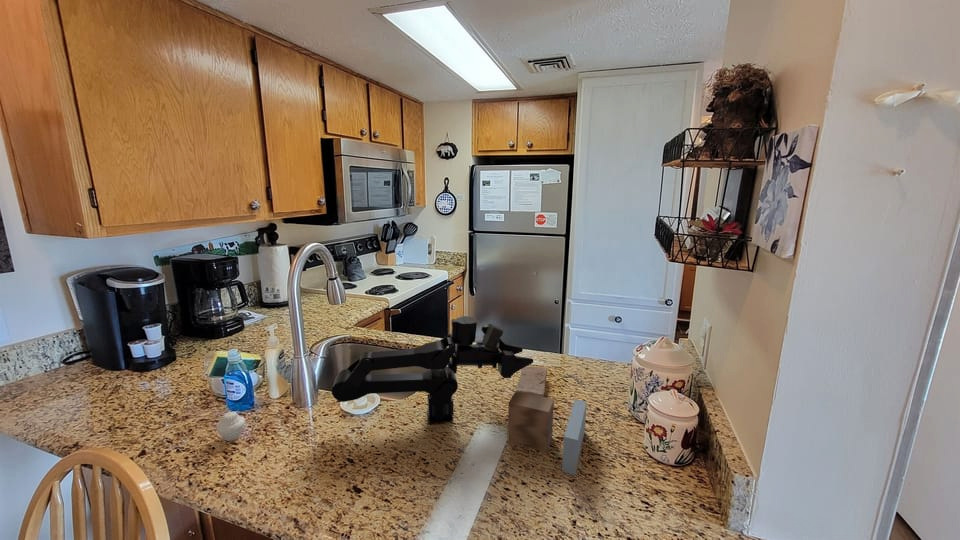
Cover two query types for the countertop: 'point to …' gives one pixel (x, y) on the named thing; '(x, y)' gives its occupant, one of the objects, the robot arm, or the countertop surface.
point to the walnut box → (530, 420)
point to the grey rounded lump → (231, 426)
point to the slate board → (574, 437)
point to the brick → (532, 380)
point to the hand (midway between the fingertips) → (527, 355)
